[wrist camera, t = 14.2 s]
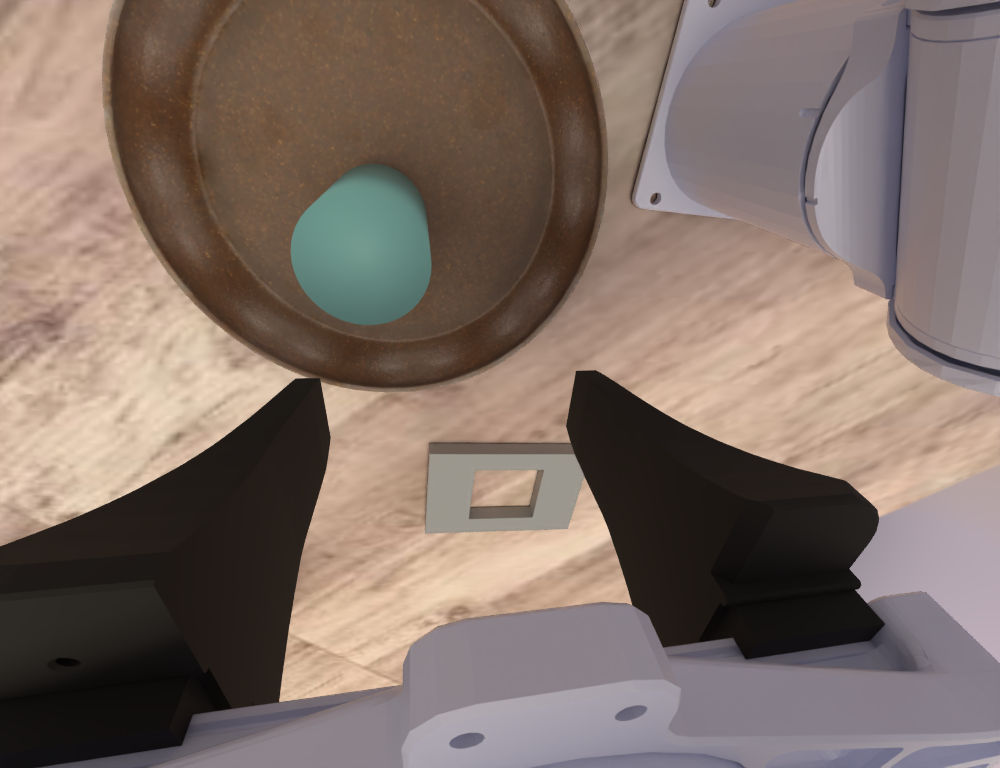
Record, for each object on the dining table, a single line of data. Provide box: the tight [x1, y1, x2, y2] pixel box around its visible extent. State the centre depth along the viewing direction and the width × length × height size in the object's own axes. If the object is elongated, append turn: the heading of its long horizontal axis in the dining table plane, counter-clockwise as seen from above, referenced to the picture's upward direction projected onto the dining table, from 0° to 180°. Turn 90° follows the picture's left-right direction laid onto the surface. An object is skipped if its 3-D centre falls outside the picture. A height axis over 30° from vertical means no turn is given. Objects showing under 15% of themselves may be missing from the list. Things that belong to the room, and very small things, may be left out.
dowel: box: [291, 164, 431, 325], centre depth 14 cm, size 4×4×6 cm
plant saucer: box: [102, 0, 608, 392], centre depth 18 cm, size 18×18×3 cm
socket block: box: [425, 443, 584, 533], centre depth 29 cm, size 10×7×1 cm
